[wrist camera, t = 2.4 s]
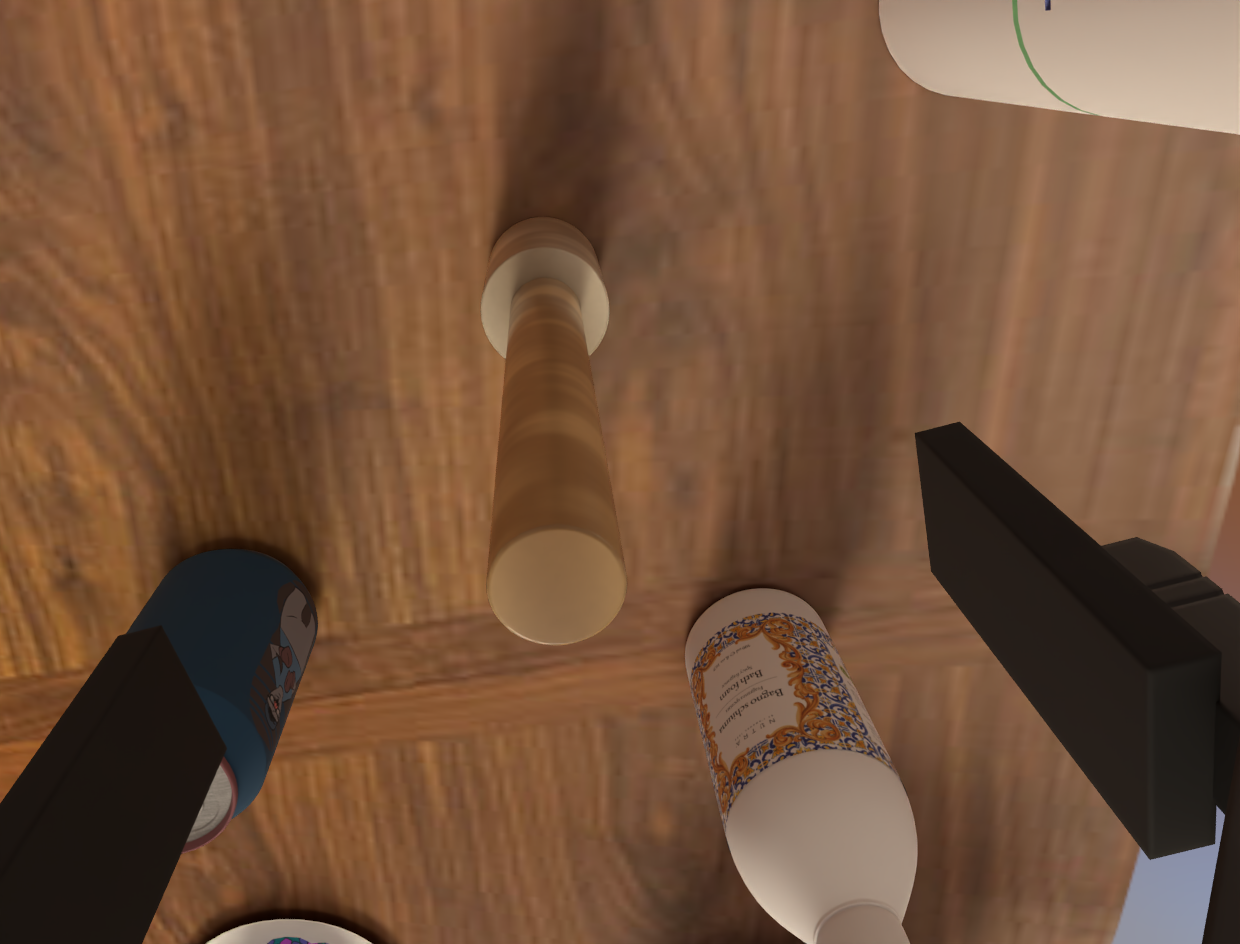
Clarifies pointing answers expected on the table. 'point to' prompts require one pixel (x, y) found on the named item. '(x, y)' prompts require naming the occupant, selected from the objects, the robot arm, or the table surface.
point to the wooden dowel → (550, 439)
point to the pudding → (288, 933)
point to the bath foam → (800, 772)
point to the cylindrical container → (1077, 55)
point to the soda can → (236, 662)
